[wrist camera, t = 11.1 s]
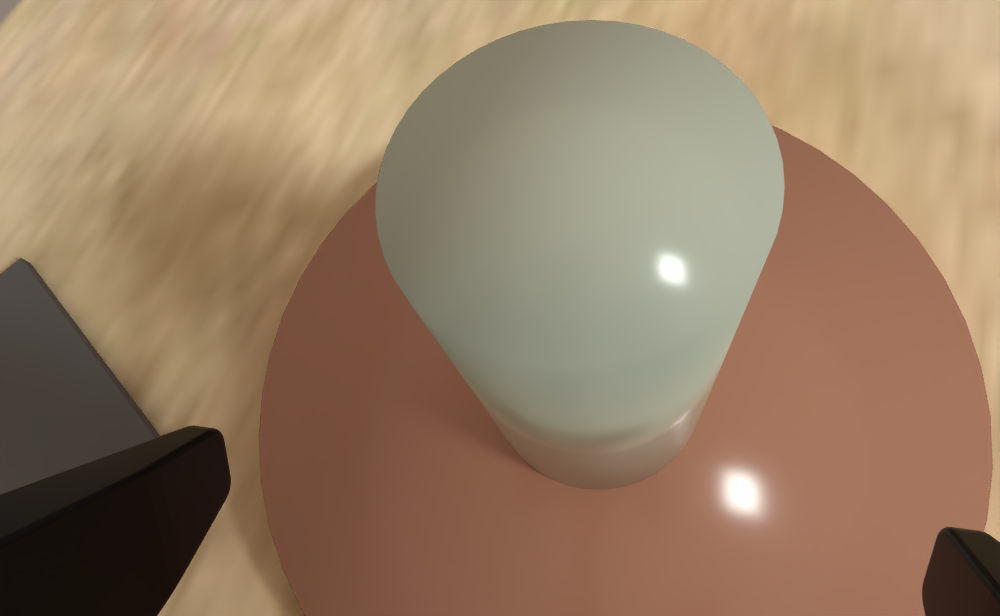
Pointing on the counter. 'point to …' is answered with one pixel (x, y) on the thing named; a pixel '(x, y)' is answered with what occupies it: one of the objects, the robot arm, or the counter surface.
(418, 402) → the terracotta plate
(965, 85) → the counter surface
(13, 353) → the rubber mat
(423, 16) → the counter surface
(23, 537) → the robot arm
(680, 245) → the sage canister
